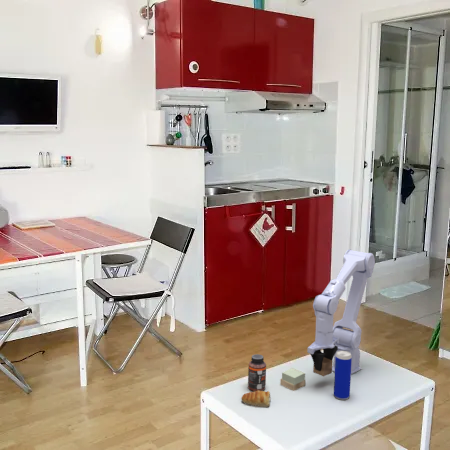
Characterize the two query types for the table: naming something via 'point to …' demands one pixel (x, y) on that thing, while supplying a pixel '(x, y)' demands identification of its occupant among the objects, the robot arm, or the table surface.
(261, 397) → the pastry
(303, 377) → the tower top
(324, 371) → the walnut cube
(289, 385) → the tower base
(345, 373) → the beverage can
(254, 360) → the supplement bottle
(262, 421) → the table surface
